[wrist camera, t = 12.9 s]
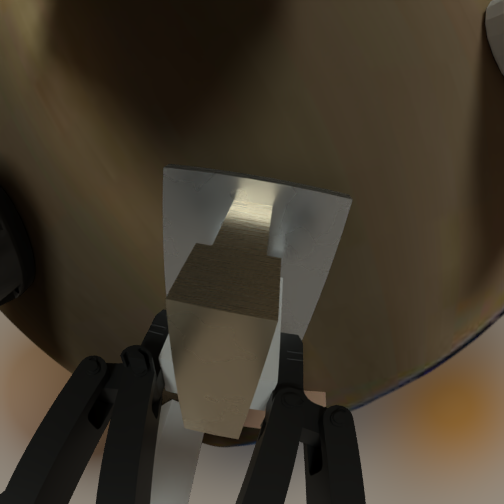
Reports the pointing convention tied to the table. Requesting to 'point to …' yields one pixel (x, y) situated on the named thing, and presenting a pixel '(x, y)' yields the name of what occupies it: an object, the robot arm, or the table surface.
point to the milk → (174, 457)
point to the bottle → (496, 30)
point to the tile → (258, 416)
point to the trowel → (239, 280)
